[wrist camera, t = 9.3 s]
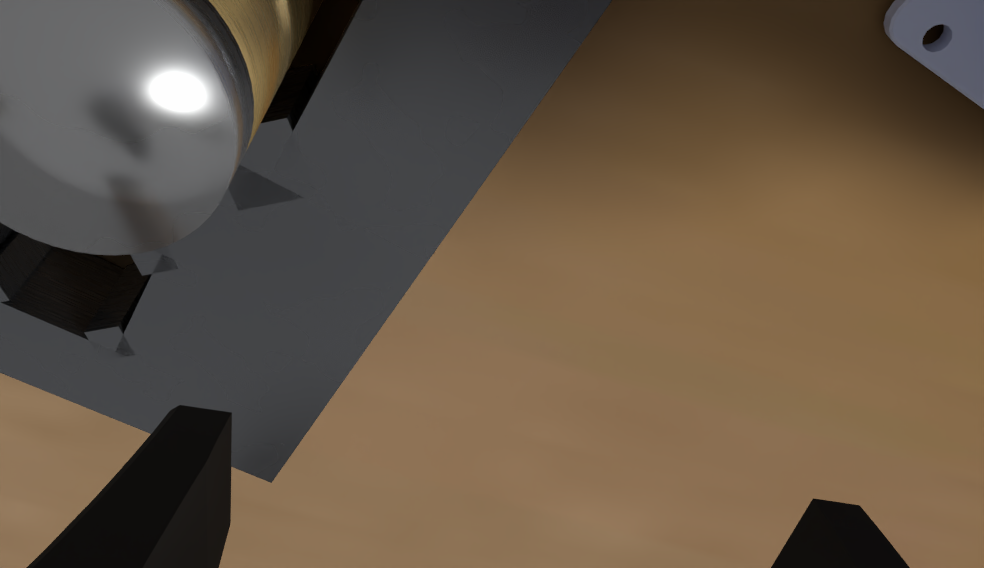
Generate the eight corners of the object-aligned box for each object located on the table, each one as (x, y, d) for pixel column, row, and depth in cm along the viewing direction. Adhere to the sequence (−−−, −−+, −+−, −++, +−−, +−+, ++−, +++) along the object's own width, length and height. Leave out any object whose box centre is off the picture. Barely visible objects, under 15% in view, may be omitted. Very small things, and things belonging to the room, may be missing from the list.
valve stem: (372, -13, 16) (301, 169, 11) (214, 88, 18) (77, 298, 12) (230, -220, 14) (53, -127, 9) (63, -89, 16) (-184, 66, 10)
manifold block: (608, -56, 16) (621, -13, 14) (293, 409, 23) (271, 482, 21) (-74, -522, 12) (-191, -558, 10) (-197, 196, 20) (-279, 259, 17)
